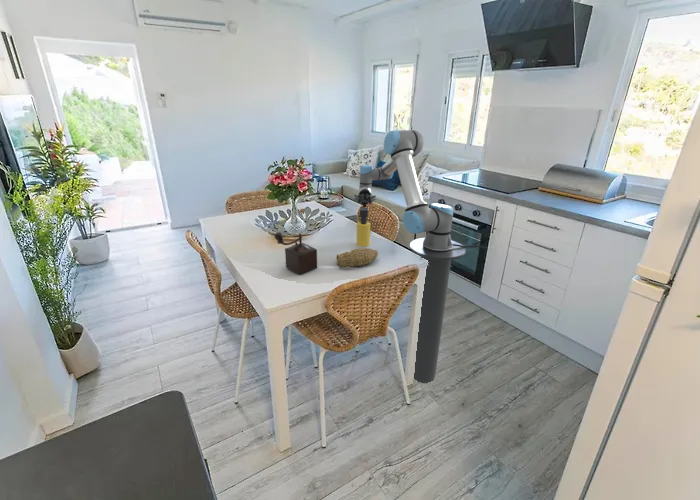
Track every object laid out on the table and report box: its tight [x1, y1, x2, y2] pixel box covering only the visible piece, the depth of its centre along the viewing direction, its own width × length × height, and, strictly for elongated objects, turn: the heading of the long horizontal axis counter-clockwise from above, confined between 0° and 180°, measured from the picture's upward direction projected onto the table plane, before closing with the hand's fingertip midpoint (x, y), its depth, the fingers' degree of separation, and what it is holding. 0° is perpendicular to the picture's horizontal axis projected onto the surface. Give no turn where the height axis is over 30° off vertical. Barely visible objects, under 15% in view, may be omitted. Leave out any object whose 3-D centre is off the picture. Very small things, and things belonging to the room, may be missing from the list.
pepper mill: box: [273, 231, 318, 276], centre depth 152 cm, size 16×11×18 cm
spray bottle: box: [355, 206, 371, 248], centre depth 182 cm, size 7×8×20 cm
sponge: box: [335, 247, 379, 269], centre depth 162 cm, size 13×8×20 cm
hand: (364, 204), depth 187 cm, fingers closed
